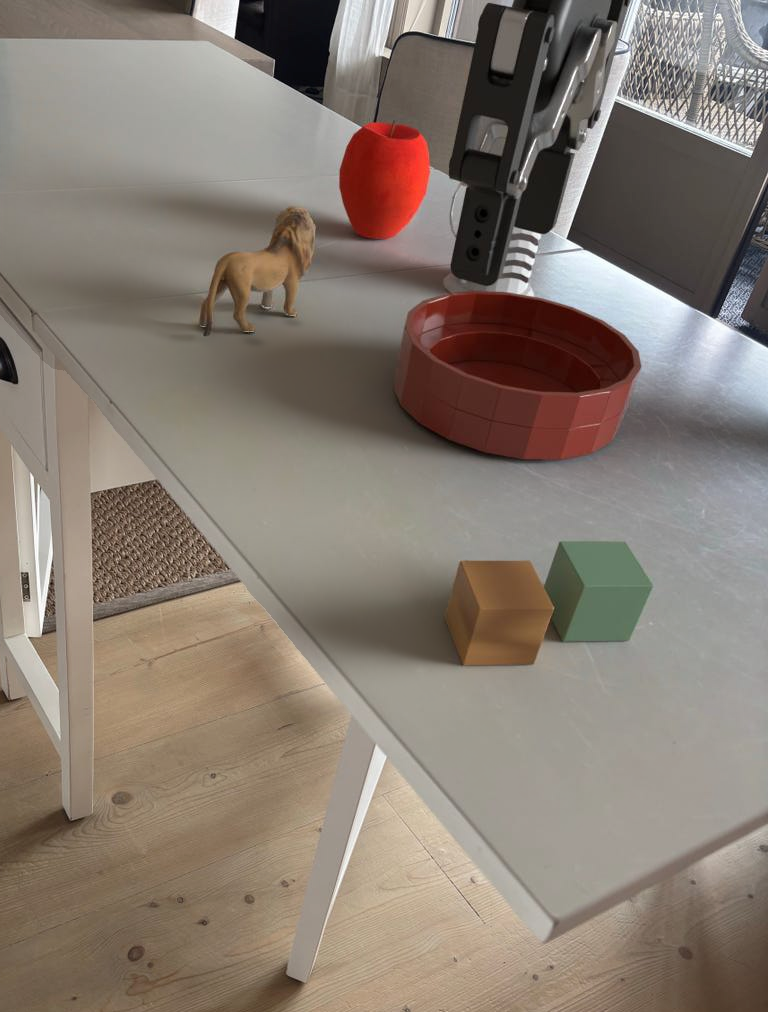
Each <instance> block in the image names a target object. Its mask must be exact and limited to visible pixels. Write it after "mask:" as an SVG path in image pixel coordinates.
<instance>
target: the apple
mask: <svg viewBox="0 0 768 1012" xmlns="http://www.w3.org/2000/svg"><path fill="white" fill-rule="evenodd" d="M338 171H339V177H338V179H339V180H338V181H339V182H338V183H339V184H338V188H339V192H340V196H341V200H342V204H343V207H344V210H345V213H346V215H347V218H348V220H349V223H350V225H351V228H352V229H353V230H354V232H355V233H356V234H357V235H358V236H360V237H362V238H367V239H377V240H388V239H392V238H394V237H395V236H397V235H398V234H399V233H400V232H401V231H402V230H404V228H406V226H407V225H408V224H409V223H411V220H412V219H413V218H414V216H415V215H416V213H417V212H418V211H419V208H420V207H421V204H422V203H423V201H424V199H425V196H426V194H427V189H428V185H429V181H430V175H431V166H430V155H429V148H428V143H427V140H426V139H425V137H424V136H423V135H422V134H421V132H420V131H419V130H418V129H416V128H414V127H412V126H409V125H406V124H399V123H398V124H397V121H396V120H393V122H392V123H387V122H370V123H366V124H365V125H363V126H362V127H361V128H359V129H358V130H357V131H356V132H354V133H353V135H352V136H351V138H350V140H349V141H348V143H347V145H346V148H345V150H344V154H343V157H342V160H341V164H340V166H339V170H338Z"/></svg>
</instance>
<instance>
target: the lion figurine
mask: <svg viewBox="0 0 768 1012" xmlns="http://www.w3.org/2000/svg"><path fill="white" fill-rule="evenodd" d="M275 222H276V223H275V224H274V229H273V231H272V234H271V235H272V236H271V238H270V242H269V245H268V246H267V247H265V248H263V249H260V250H257V251H252V252H246V251H232V252H228V253H226V254H225V255H223V256H222V257H221V258H219V260H217V262H216V264H215V267H214V272H213V275H212V278H211V281H210V287H209V290H208V294H207V296H206V298H205V299H204V300H203V301H202V303H201V305H200V313H199V319H198V325H199V326H200V325H201V326H205V327H206V328H204V331H203V333H202V336H203V337H209V336H210V335H211V334H212V331H213V326H212V324H213V325H214V322H213V315H214V314H213V312H214V305H215V304H216V303H217V302H218V301H219V300H220V299H221V298H222V297H223V295H224V294H225V293H226V291H227V290H229V293H230V296H231V298H232V301H233V304H234V311H233V315H232V319H233V320H234V322H236V324H237V325H238V328H239V329H240V331H242V332H243V331H249V332H250V331H254V330H255V331H256V328H255V326H254V325H253V324H252V323H248V322H247V321H246V317H245V312H246V309H247V306H248V303H249V301H250V298H251V294H252V293H251V292H255V293H262V298H261V303H260V306H261V305H263V306H264V307H272V306H273V305H275V303H274V298H273V293H274V290H275V289H276V288H279V287H280V286H281V285H282V286H283V289H284V293H285V298H284V303H283V313H284V312H285V313H286V314H288V315H296V314H297V315H298V311H297V310H296V309H295V308H293V307H294V304H295V301H296V296H297V293H298V289H299V280H301V279H302V277H304V276H305V275H307V273H308V271H309V269H310V266H311V264H312V257H313V254H314V247H315V242H316V234H315V233H316V224H315V222H313V219H312V218H311V216H310V213H309V211H307V210H306V209H304V208H302V207H298V206H297V207H296V206H288V207H286V208H285V210H281V211H280V212H279V213H277V215H276V216H275ZM263 309H264V310H266V309H265V308H263ZM272 309H273V308H271V309H270V310H272ZM285 313H284V314H285ZM285 316H286V317H290V318H296V317H297V316H294V317H292V316H287V315H285ZM201 326H200V327H201ZM255 331H254V332H255Z"/></svg>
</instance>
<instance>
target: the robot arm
mask: <svg viewBox="0 0 768 1012" xmlns="http://www.w3.org/2000/svg"><path fill="white" fill-rule="evenodd" d="M631 1H632V0H513V1H512V4H511V6H508V5H503V4H499V3H494V2H493V3H492V2H487V3H486V5H485V6H484V8H483V10H482V12H481V14H480V16H479V19H478V23H477V33H476V36H475V37H476V38H475V41H474V42H475V43H474V46H473V50H472V51H473V52H472V56H471V62H470V67H469V71H468V76H467V80H466V81H467V82H466V84H465V85H466V86H465V90H464V95H463V100H462V103H461V104H462V105H461V108H460V114H459V118H458V124H457V129H456V134H455V138H454V142H453V148H452V153H451V156H450V158H449V163H448V178H449V179H450V180H454V181H457V182H460V181H461V184H462V185H461V186H463V187H465V191H464V196H463V202H462V206H461V211H460V216H459V221H458V225H457V231H456V238H455V240H454V241H455V242H454V246H453V251H452V256H451V261H450V273H451V272H452V274H453V275H454V276H455V277H457V278H459V279H463V280H466V281H470V282H473V283H477V284H480V285H484V286H491V285H493V284H494V283H495V282H496V281H497V280H498V279H499V278H500V277H501V276H502V274H503V270H504V266H505V261H506V257H507V253H508V249H509V245H510V241H511V237H512V232H513V228H514V227H516V228H520V229H523V230H527V231H531V232H535V233H539V234H541V235H546V234H548V233H550V232H551V231H552V230H553V229H554V228H555V227H556V225H557V222H558V218H559V215H560V211H561V208H562V204H563V200H564V196H565V192H566V188H567V185H568V182H569V178H570V175H571V169H572V167H573V162H574V159H575V155H576V153H574V152H571V150H574V151H580V149H581V148H582V146H583V144H585V143H586V140H587V138H588V137H587V136H588V132H589V131H587V130H588V129H591V130H593V129H594V127H595V125H596V123H597V122H598V121H599V119H600V117H601V114H602V113H601V112H602V110H601V107H602V103H603V99H604V95H605V91H606V88H607V84H608V80H609V76H610V73H611V69H612V67H613V62H614V59H615V54H616V50H617V46H618V43H619V40H620V35H621V32H622V28H623V24H624V22H625V21H624V20H625V16H626V13H627V9H628V8H629V6H630V4H631ZM498 138H504V139H506V140H505V144H504V148H503V153H502V156H499V155H495V154H491V153H489V152H490V149H491V146H492V144H493V142H494V141H495V140H496V139H498Z"/></svg>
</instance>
